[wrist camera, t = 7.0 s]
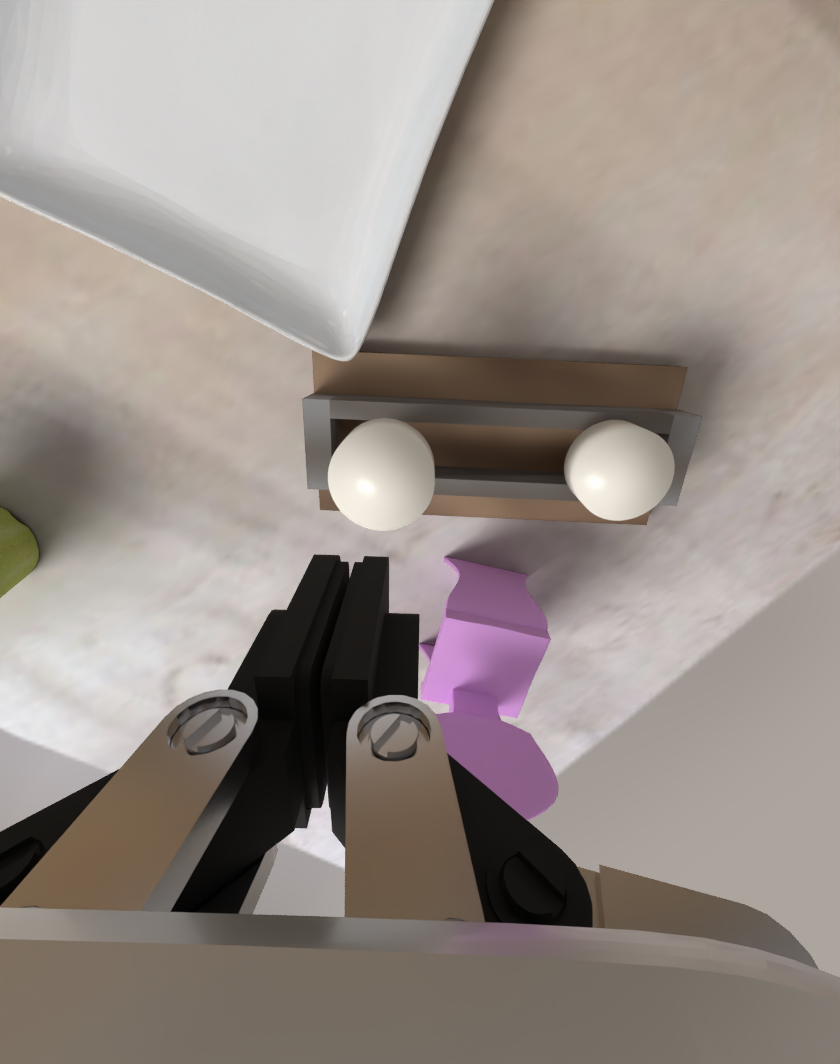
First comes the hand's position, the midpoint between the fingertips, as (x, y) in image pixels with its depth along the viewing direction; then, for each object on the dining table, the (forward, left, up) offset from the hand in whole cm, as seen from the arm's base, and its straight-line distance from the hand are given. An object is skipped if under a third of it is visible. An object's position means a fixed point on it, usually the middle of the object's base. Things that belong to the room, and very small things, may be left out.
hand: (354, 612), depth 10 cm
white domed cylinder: (0, +12, -19) cm, 22 cm away
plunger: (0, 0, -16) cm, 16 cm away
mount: (0, +6, -21) cm, 21 cm away
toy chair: (+13, +6, -21) cm, 25 cm away
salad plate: (-18, -8, -21) cm, 29 cm away
